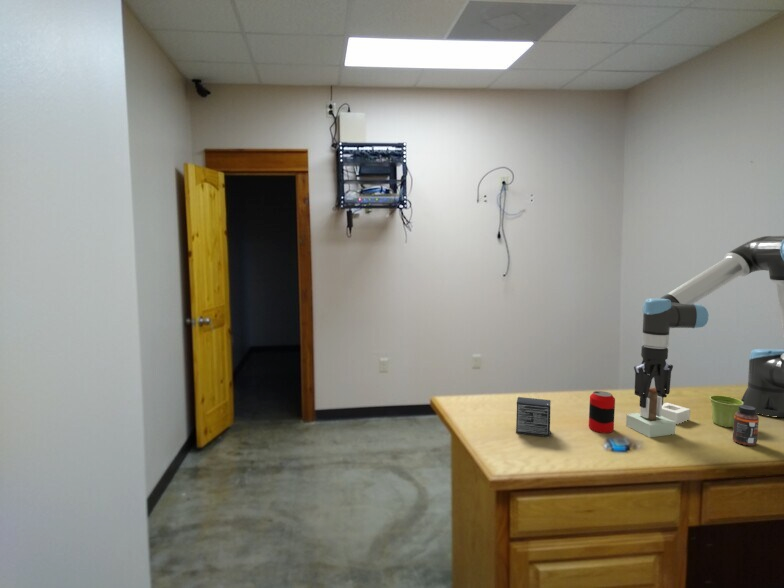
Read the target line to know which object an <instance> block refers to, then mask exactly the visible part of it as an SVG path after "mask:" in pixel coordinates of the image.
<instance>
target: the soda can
mask: <svg viewBox="0 0 784 588" xmlns="http://www.w3.org/2000/svg"><path fill="white" fill-rule="evenodd" d="M615 406H616V398H615V396H614V395H613V393H611V392H608V391H603V390H596V391H595V390H594V391H593V392H592V394H590V396H589V407H588V408H589V413H588V427H589V429H590V430H592V431H594V432H596V433H599V434H600V433H601V434H609V433H612V432H613V431H614V428H615V426H614V425H615V408H616V407H615Z"/></svg>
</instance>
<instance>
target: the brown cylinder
mask: <svg viewBox="0 0 784 588" xmlns="http://www.w3.org/2000/svg"><path fill="white" fill-rule="evenodd" d="M657 393H658V392H657V391H656V388H655V387H651V386H650V389H649V394H648V397H647V398H649V399H650V402H649V418H645V419H646V420H648V421H656V409H657Z"/></svg>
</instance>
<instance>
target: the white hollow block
mask: <svg viewBox="0 0 784 588" xmlns="http://www.w3.org/2000/svg"><path fill="white" fill-rule="evenodd" d="M690 415H691V408H688V407H684V406H681V405H678V404H673V403H670V402H663V406H662V412H661V416H663V417H665V418H667V419H670V420H672V421H674V422H676V424H677V425H679V423H680V424H682V422H683V423H685V422H684V421H686V422H688V421H687V420H689V421H690V418H691V417H690Z"/></svg>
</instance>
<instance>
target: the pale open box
mask: <svg viewBox="0 0 784 588" xmlns="http://www.w3.org/2000/svg"><path fill="white" fill-rule="evenodd" d="M625 426H626V427H628V428H630V429H632V430H634V431H635V432H638V433H640V434H642V435H644V436H646V437H648V438H656V437H663V436H670V435H671V434H672V435H675V434H676V426H677V425H676V422H674V421H672V420H670V419H667V418H665V417H663V416H661V417H659V416H656V421H648V420H646V419H645V417H643V416H640V412H634V413H633V412H632V413H627V414H626V419H625Z"/></svg>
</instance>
